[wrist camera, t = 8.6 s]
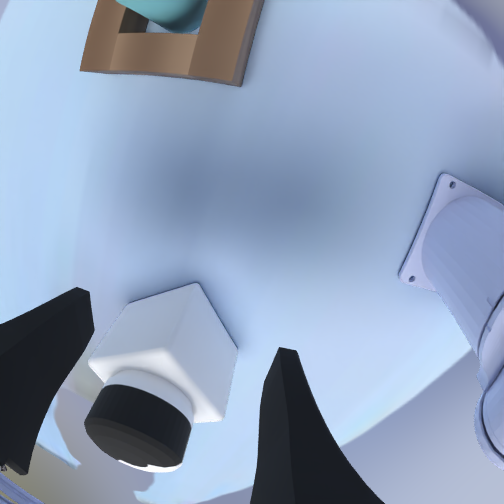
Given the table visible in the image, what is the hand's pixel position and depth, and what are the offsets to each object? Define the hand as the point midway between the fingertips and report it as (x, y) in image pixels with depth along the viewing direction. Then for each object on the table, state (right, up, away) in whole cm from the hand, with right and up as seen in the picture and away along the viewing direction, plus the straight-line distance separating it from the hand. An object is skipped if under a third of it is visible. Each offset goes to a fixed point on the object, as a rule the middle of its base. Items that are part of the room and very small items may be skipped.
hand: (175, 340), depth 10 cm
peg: (-1, +17, +3) cm, 18 cm away
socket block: (-1, +17, +3) cm, 18 cm away
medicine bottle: (-3, -3, +13) cm, 14 cm away
